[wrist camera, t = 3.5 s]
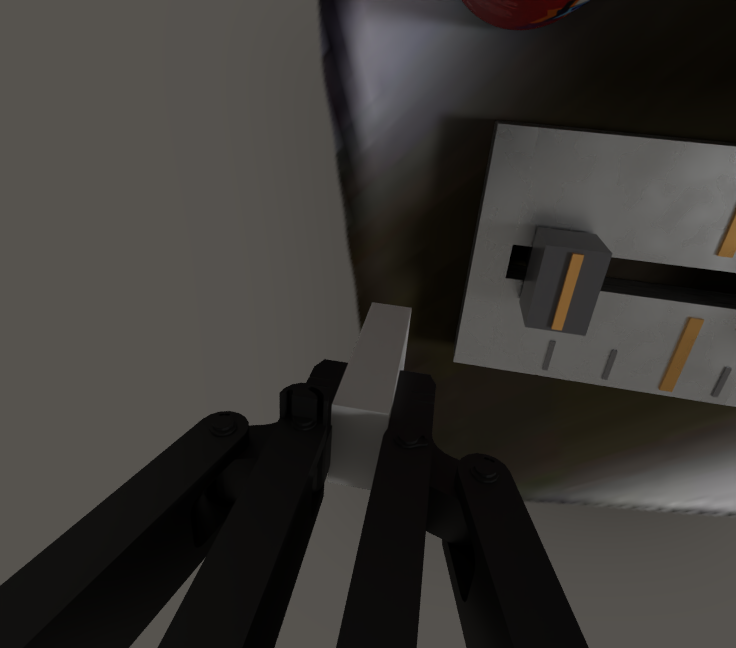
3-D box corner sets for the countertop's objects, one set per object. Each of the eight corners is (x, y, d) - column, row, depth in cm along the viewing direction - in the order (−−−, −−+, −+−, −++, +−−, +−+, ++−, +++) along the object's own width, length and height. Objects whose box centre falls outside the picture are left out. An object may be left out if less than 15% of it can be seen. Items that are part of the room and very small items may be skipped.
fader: (531, 214, 28) (546, 246, 23) (585, 221, 28) (613, 254, 22) (515, 284, 30) (525, 328, 25) (565, 291, 30) (586, 337, 24)
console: (495, 119, 26) (498, 124, 24) (1098, 177, 23) (1174, 190, 20) (454, 342, 33) (453, 364, 30) (918, 414, 29) (960, 445, 27)
